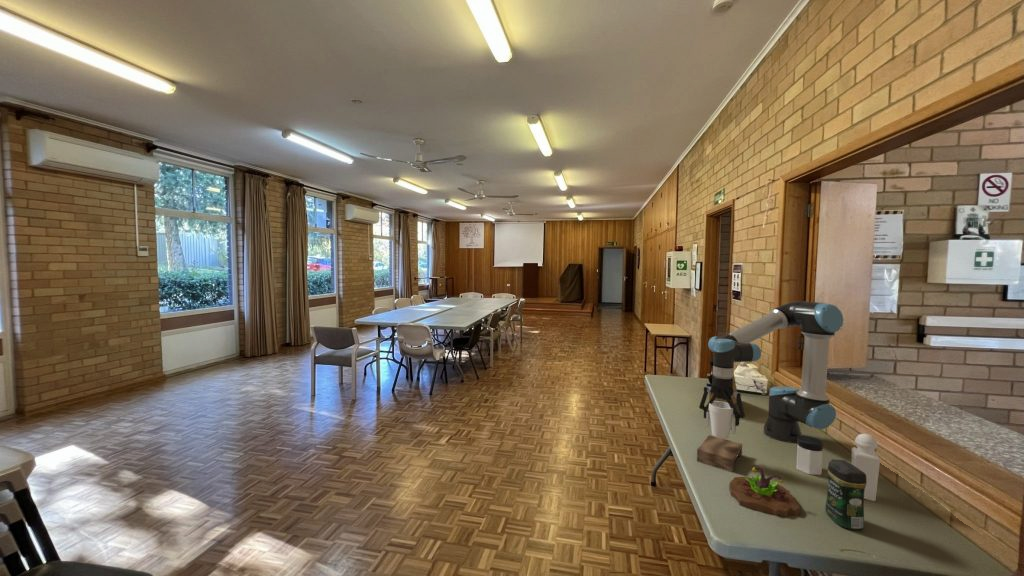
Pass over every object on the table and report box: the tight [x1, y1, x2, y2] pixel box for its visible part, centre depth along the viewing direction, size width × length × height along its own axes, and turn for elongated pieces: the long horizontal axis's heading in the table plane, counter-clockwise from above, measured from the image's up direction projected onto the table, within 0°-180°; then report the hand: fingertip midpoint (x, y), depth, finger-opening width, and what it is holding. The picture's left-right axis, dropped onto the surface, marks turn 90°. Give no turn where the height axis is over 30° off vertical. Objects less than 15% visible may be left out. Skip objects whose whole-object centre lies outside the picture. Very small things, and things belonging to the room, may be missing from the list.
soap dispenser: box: [851, 433, 881, 502], centre depth 138 cm, size 6×6×22 cm
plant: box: [728, 466, 800, 518], centre depth 137 cm, size 20×20×11 cm
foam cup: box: [708, 401, 734, 440], centre depth 164 cm, size 10×9×13 cm
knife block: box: [706, 358, 738, 406], centre depth 224 cm, size 11×35×31 cm, turn 142°
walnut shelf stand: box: [696, 434, 743, 472], centre depth 165 cm, size 13×18×5 cm
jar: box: [795, 435, 824, 476], centre depth 156 cm, size 9×8×12 cm
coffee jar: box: [824, 459, 867, 531], centre depth 124 cm, size 10×8×19 cm
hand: (720, 429), depth 165 cm, fingers closed on foam cup, 9 cm apart
